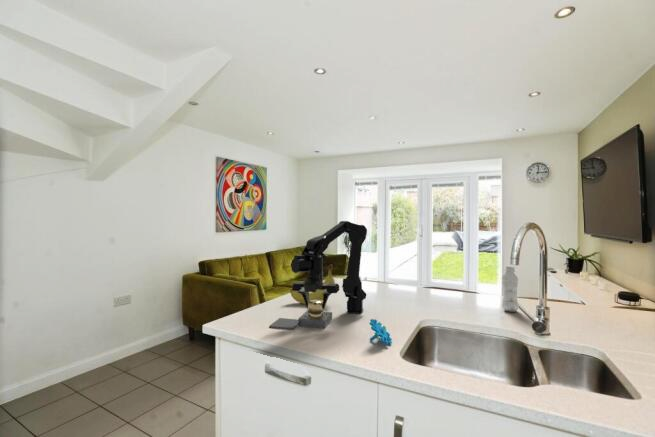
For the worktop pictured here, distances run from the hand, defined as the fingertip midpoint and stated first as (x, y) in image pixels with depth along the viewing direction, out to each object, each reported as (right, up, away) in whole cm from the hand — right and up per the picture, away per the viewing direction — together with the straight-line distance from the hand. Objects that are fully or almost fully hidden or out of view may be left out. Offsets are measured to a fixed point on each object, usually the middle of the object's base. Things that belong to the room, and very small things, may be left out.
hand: (315, 308), depth 127 cm
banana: (-3, -6, +28) cm, 29 cm away
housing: (0, -6, 0) cm, 6 cm away
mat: (-12, -6, -2) cm, 13 cm away
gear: (+23, -6, -20) cm, 31 cm away
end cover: (0, -5, 0) cm, 4 cm away
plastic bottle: (+88, -6, +14) cm, 89 cm away
